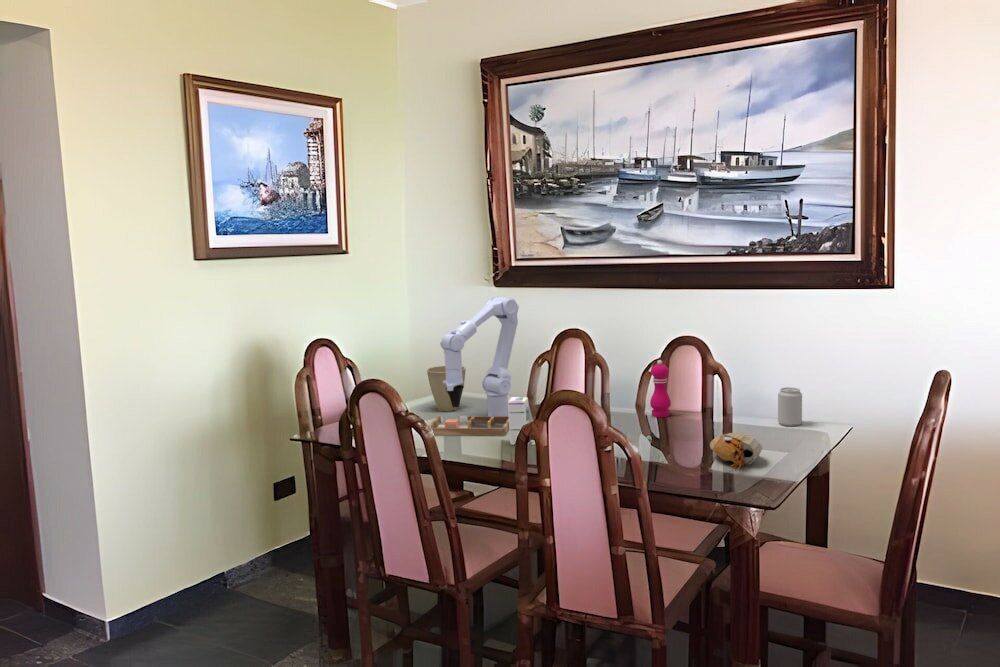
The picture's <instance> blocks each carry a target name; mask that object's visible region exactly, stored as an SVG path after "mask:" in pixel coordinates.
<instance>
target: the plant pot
mask: <svg viewBox="0 0 1000 667" xmlns="http://www.w3.org/2000/svg"><path fill="white" fill-rule="evenodd" d="M426 373H427V378H428V382H429V386H430V387H429V388H430V390H431V394H432V397H433V399H434V402H435V405H436V407H437V409H438V411H440V412H453V410H455V411H457V410H458V409H459V407H453V406H452V403H451V400H450V397H449V394H448V393H447V391H446V387H447V385H446V383H443V381H444V380H446V369H445V365H440V366H433V367H429V368H427V369H426ZM462 377H463V383H462V384H459V385H464V386H465V379H466V366H462ZM463 391H464V389H463V390H462V393H461V397H462V396H463ZM461 400H462V398H461V399H460V401H461ZM456 409H457V410H456Z"/></svg>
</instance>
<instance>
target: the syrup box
mask: <svg viewBox="0 0 1000 667" xmlns="http://www.w3.org/2000/svg"><path fill="white" fill-rule="evenodd" d="M529 409H530V408H529V397H527V396H513V397H512V396H511V397H510V398H509V399H508V414H509V430H508V432H509V442H510V445H514V444H515V439H516V437H517V434H518V432H519V431H520V429H521V427H522V426H523V425H525V424H527V423H529V424H530V410H529ZM514 446H515V445H514Z"/></svg>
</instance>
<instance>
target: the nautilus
mask: <svg viewBox="0 0 1000 667" xmlns="http://www.w3.org/2000/svg"><path fill="white" fill-rule="evenodd" d="M709 447H710V450H711V451H714V453H715V455H717V456H718V457H719V458H720V460H723V461H725V462H728V461H729V462H730V461H731V462H733V464H732V465H730V466H729V467H733V466H734V467H733V468H732V469H731V470H730V472H732V471H733V470H734V471H733V472H737V470H739V472H741V470H740V469H741V468H743V467H744V465H751V464H752V463H753V462H754V461H755V460H756V459H757V458H758V457H759V456H760V454H761V452H762V451H763V445H762V444H761V443H760V441H759V440H757V439H756V438H755V437H754V436H752V435H748V434H743V433H740V432H728V433H724V434H720V435H718V436H716V437H714V438H713V439H712V440H711V441H710V443H709ZM737 466H738V468H737Z"/></svg>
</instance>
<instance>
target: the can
mask: <svg viewBox="0 0 1000 667" xmlns="http://www.w3.org/2000/svg"><path fill="white" fill-rule="evenodd" d="M777 399H778V400H777V422H778V423H779V424H780V425H781V426H784V427H798V426H800V424H803V423H802V422H803V393H802V392H801V389H800V388H798V387H791V386H790V387H780V388H779V392H778V393H777Z"/></svg>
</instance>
